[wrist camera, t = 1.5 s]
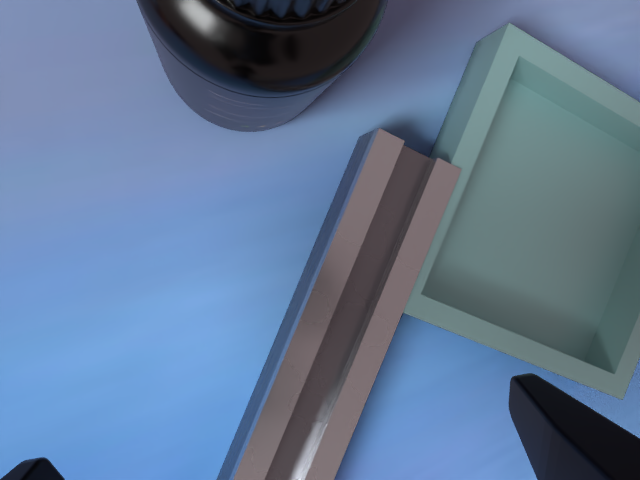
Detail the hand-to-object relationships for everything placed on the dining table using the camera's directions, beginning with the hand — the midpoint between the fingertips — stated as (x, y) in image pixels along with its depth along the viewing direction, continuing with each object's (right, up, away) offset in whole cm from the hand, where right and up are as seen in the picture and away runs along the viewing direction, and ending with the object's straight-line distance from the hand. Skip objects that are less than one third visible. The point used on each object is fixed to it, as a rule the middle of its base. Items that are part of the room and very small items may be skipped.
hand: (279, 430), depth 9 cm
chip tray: (+12, +5, +15) cm, 19 cm away
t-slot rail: (+1, -2, +13) cm, 13 cm away
